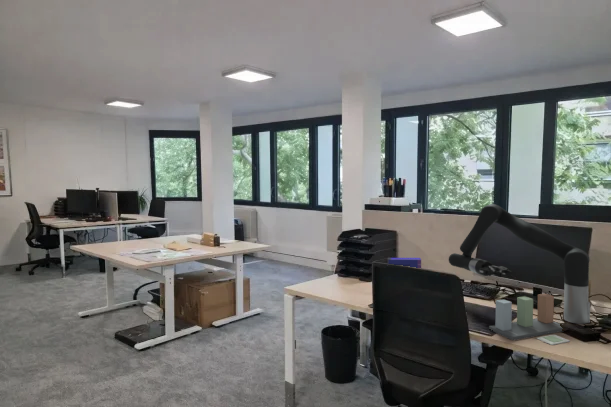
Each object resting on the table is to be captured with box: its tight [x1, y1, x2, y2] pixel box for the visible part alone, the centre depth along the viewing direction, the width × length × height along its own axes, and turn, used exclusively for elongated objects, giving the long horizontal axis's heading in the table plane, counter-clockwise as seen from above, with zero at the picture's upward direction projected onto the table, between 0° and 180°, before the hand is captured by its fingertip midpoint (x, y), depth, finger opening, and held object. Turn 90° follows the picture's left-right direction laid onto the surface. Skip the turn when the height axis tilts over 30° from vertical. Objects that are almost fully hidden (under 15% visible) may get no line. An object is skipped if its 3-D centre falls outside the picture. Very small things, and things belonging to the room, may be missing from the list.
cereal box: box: [387, 257, 422, 269], centre depth 218 cm, size 17×5×24 cm, turn 84°
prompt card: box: [536, 333, 571, 346], centre depth 164 cm, size 10×7×1 cm
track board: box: [488, 317, 563, 341], centre depth 175 cm, size 31×13×2 cm, turn 108°
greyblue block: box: [494, 299, 513, 331], centre depth 173 cm, size 4×4×12 cm
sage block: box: [516, 296, 534, 327], centre depth 176 cm, size 4×4×12 cm
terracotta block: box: [536, 293, 555, 323], centre depth 180 cm, size 4×4×12 cm
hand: (506, 274), depth 185 cm, fingers open, 5 cm apart
